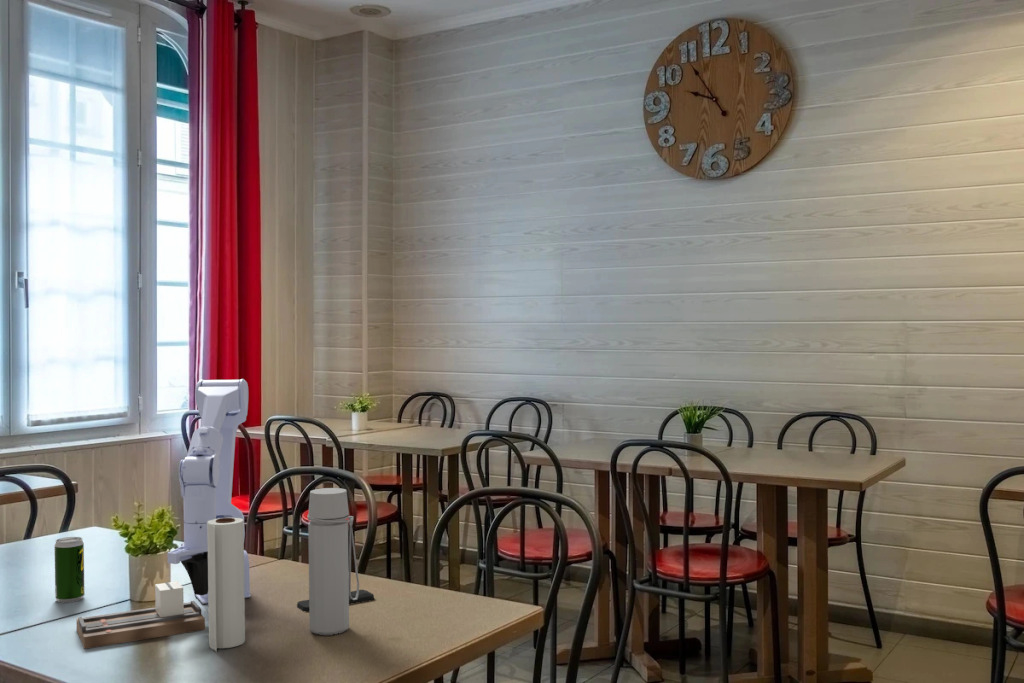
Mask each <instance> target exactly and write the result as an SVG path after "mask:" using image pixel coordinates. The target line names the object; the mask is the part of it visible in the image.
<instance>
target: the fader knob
mask: <svg viewBox="0 0 1024 683" xmlns="http://www.w3.org/2000/svg"><path fill="white" fill-rule="evenodd" d="M154 588H155V589H154V590H155V591H154V593H155V596H154V597H155V599H154V600H155V602H154V603H155V607H156V612H157V613H158V614H159V616H160V617H167V616H173V615H180V614H184V603H185V602H184V586H183V585H182V584H181V583H180V582H179V581H171V582H168V581H167V582H163V583H156V584H154Z"/></svg>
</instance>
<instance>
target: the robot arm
mask: <svg viewBox="0 0 1024 683" xmlns="http://www.w3.org/2000/svg"><path fill="white" fill-rule="evenodd" d="M248 385H249V384H248V382H247V380H245V379H244V378H241V379H205V378H204V379H203V378H202V379H201V378H200V379H199V380H198V381H197V383H196V385H195V393H194V395H195V396H194V397H195V403H196V404H195V405H196V407H197V409H198V414H199V417H200V418H201V421H200V427H198V428H197V429H195V430H194V432H193V433H192V436H191V439H190V443H189V448H188V451H187V453H186V457H184V459H182V458H181V460H180V462H179V465H178V466H179V467H178V481H179V482H178V483H179V486H180V496H181V498H183V542H182V543H180V546H179V547H177V548H176V549H173V550H171V551H168V552H167V564H172V565H178V564H180V563H181V564H182V565H183V567H184V569H185V570H186V572H187V575H188V577H189V580H190V583H191V587H192V590H193V593H194V596H195V597H196V598H197V600H199V602H200V603H201V604H208V536H207V522H208V521H210V520H213V519H218V518H241V519H243V521H244V522H245V516H244V514H243V511H242V510H241V509H240V508H238V507H237V506H235V505H234V504H232V498H233V497H232V493H233V479H234V463H235V451H236V450H235V449H236V437H237V432H238V428H239V426H240V425H241V424H242V423H245V422H246V421H247V416H248V410H249V386H248ZM245 531H246V530H245V527H244V539H245V536H246V532H245ZM250 575H251V574H250V560H249V555H248V552H247V550H245V549H244V597H245V599H247V598H251V592H250V591H251V590H250V589H251V585H250V584H251V583H250V579H251V578H250Z"/></svg>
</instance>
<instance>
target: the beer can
mask: <svg viewBox="0 0 1024 683" xmlns="http://www.w3.org/2000/svg"><path fill="white" fill-rule="evenodd" d="M84 552H85V543H84V542H83V537H80V536H67V537H60V538H57V539H55V543H54V584H55V585H54V591H55V592H54V593H55V594H54V596H55V599H56V602H57V603H61V604H62V603H63V604H65V603H67V604H68V603H74V602H78V601H79V602H80V601H82V600H83V599H84V597H85V553H84Z"/></svg>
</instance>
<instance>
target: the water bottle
mask: <svg viewBox="0 0 1024 683" xmlns="http://www.w3.org/2000/svg"><path fill="white" fill-rule="evenodd" d="M347 493H348V491H347V489H345V488H340V487H325V488H323V487H322V488H317V489H312V490H310V492H309V501H308V502H309V503H308V514H307V516H306V517H307V521H308V524H307V525H308V526H307V528H308V533H307V534H308V594H309V595H308V600H309V612H308V613H309V614H308V615H309V630H310V631H311V633H314V634H315V635H318V634H319V635H318V636H334V635H333V634H335V635H339V634H342V633H344V632H345V631H347V630H348V629H349V627H350V604H349V596H350V598H351V599H352V600H357V599H358V595H359V590H360V580H359V573H358V572H359V571H358V565H357V564H358V563H357V556H356V554H357V553H356V548H355V547H356V546H355V541H354V539H355V538H354V533H353V532H354V531H353V523H354V516H352V515H350V512H349V511H350V510H349V502H348V501H349V500H348V494H347ZM352 552H353V560H354V568H355V569H354V570H355V577H356V590H357V593H356V597H355V598H352V596H351V592H352V591H351V590H352V587H351V586H352ZM338 633H339V634H338Z"/></svg>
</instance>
